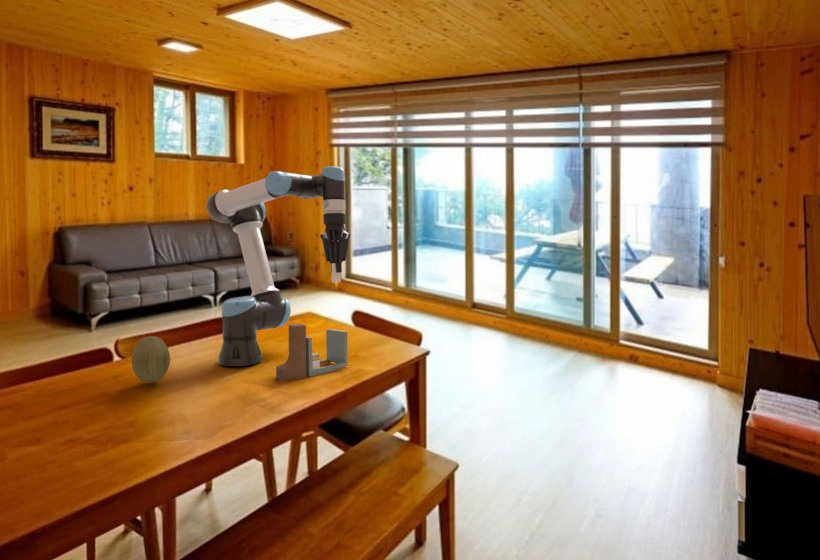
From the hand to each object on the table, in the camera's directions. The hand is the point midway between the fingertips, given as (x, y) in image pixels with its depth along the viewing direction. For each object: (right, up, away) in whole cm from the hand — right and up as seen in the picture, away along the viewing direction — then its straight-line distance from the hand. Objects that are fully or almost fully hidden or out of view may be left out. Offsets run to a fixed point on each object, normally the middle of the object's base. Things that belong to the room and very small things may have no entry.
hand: (336, 282), depth 188 cm
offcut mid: (-10, -29, +1) cm, 31 cm away
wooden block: (-14, -32, -6) cm, 36 cm away
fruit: (-59, -32, -10) cm, 68 cm away
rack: (-7, -31, +5) cm, 32 cm away
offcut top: (-9, -27, +1) cm, 28 cm away
